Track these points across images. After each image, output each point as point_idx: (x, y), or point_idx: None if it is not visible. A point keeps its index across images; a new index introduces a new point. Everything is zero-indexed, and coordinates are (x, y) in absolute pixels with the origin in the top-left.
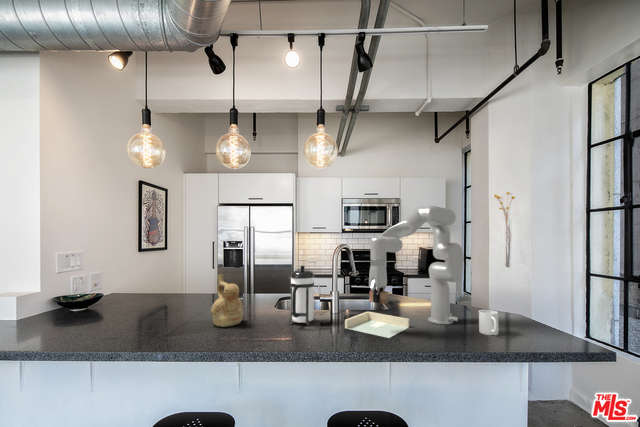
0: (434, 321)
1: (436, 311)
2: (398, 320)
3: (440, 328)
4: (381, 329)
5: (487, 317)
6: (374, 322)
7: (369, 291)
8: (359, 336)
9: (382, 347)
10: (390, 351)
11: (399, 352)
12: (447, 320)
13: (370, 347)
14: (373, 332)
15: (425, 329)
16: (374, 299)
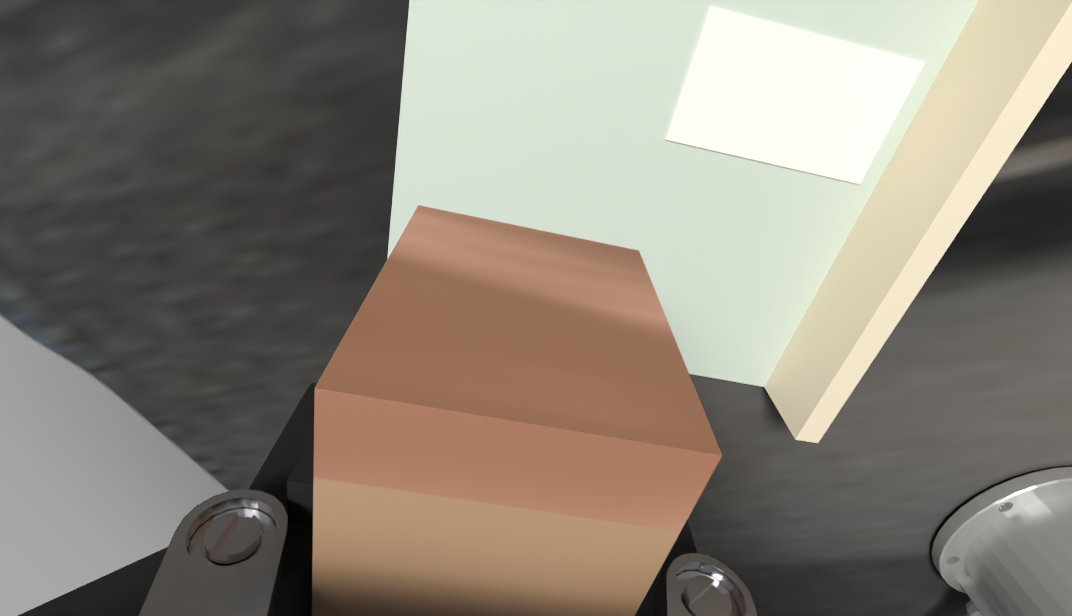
0: (968, 520)
1: (1046, 605)
2: (835, 333)
3: (825, 543)
4: (609, 191)
5: None
6: (895, 19)
7: (315, 387)
8: (274, 22)
9: (157, 318)
10: (128, 382)
11: (161, 430)
12: (969, 589)
13: (74, 237)
14: (462, 144)
15: (772, 478)
16: (300, 412)
